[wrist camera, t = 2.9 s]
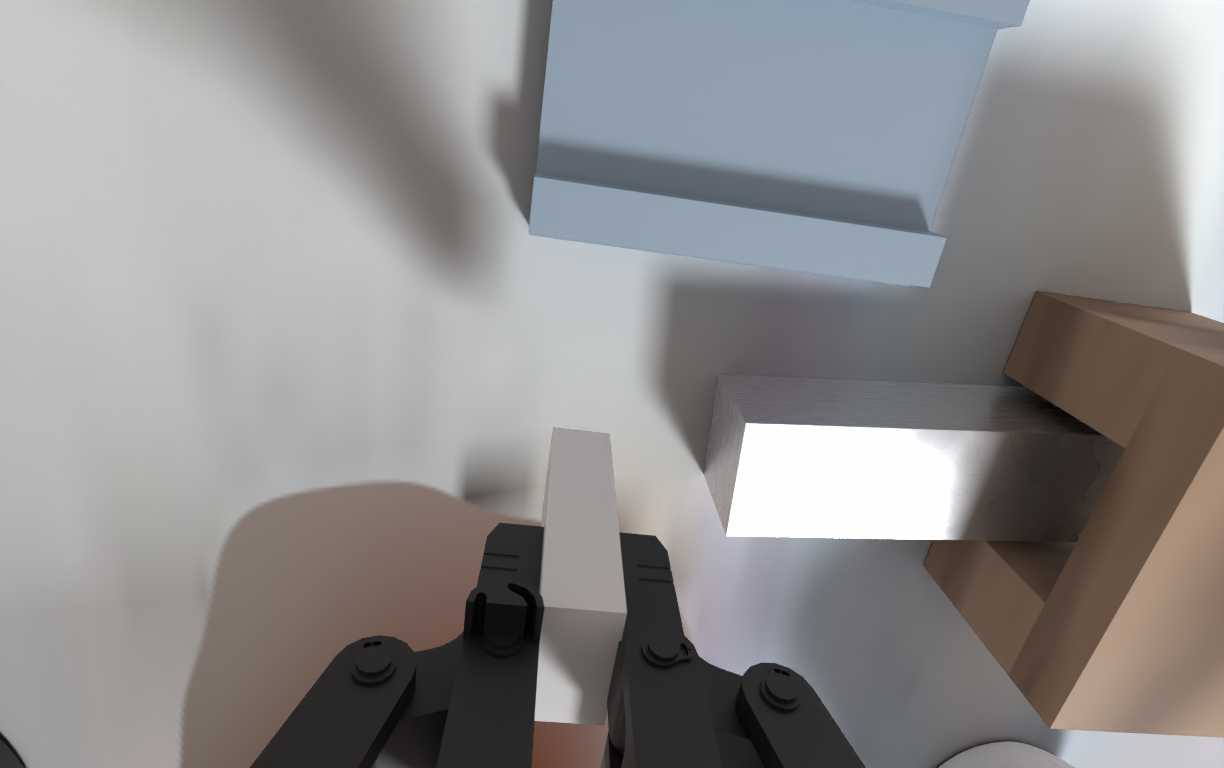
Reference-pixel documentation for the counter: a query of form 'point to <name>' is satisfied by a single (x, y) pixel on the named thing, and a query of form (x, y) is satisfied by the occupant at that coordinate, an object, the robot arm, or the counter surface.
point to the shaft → (901, 461)
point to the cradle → (761, 128)
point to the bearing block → (1116, 530)
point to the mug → (1005, 757)
